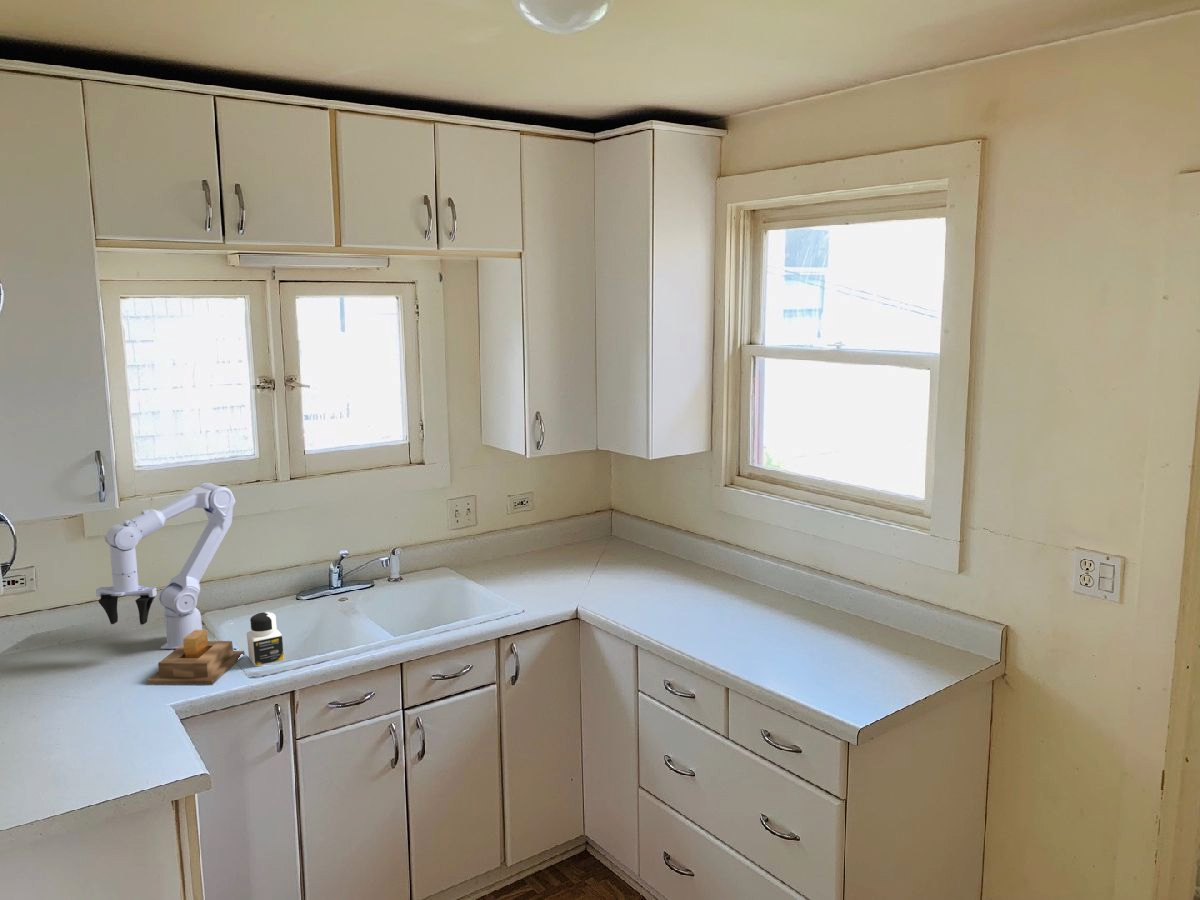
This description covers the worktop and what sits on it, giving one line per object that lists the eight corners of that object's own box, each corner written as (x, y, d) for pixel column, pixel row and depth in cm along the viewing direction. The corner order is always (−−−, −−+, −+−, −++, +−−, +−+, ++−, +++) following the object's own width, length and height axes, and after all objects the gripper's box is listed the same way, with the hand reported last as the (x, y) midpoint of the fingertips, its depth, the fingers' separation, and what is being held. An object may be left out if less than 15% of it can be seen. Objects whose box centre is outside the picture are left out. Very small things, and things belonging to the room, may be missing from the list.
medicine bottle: (255, 667, 228) (251, 622, 226) (248, 658, 234) (244, 613, 232) (284, 660, 232) (280, 616, 230) (277, 651, 238) (273, 607, 236)
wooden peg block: (198, 659, 231) (195, 629, 229) (209, 659, 231) (206, 629, 229) (186, 669, 225) (183, 638, 224) (198, 669, 225) (195, 638, 223)
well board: (184, 654, 237) (182, 637, 236) (244, 654, 236) (243, 638, 235) (147, 684, 219) (145, 666, 218) (212, 684, 219) (210, 666, 218)
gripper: (87, 576, 227) (92, 628, 229) (145, 576, 227) (149, 628, 229) (103, 568, 234) (107, 618, 236) (159, 568, 234) (162, 619, 236)
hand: (129, 623), depth 233 cm, fingers open, 7 cm apart
